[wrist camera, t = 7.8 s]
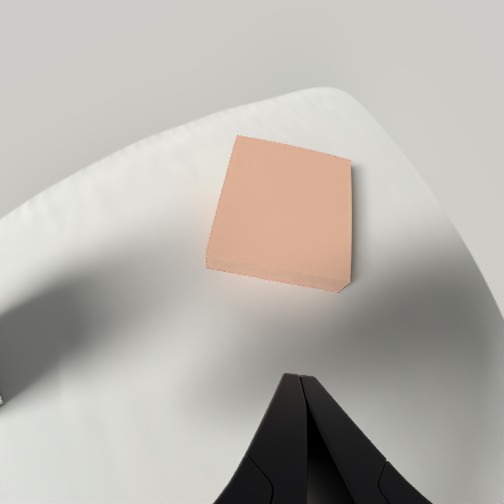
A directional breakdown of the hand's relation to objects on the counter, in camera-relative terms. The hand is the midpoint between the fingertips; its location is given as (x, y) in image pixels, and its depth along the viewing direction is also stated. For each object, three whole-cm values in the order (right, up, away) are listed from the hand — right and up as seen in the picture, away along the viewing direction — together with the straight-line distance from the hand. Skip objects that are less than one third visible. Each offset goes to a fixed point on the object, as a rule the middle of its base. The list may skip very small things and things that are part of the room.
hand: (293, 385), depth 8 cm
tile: (0, +2, +10) cm, 10 cm away
